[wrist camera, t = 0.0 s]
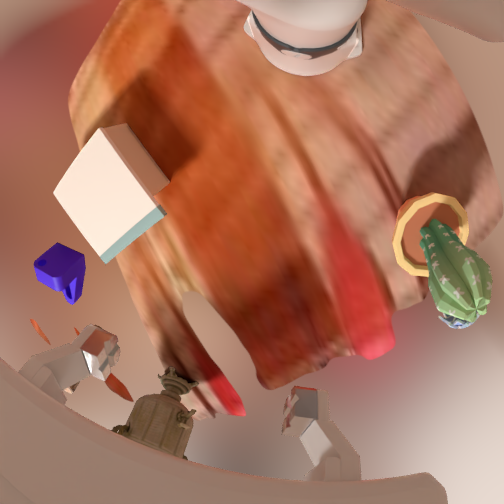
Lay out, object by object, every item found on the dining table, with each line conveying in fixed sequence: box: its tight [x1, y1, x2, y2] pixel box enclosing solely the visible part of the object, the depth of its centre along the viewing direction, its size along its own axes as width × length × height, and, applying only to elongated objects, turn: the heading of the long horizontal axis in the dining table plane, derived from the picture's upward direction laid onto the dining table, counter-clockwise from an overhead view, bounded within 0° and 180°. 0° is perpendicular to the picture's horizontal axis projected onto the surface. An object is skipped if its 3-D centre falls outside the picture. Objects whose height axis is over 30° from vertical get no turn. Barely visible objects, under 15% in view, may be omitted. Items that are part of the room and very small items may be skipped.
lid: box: [53, 127, 167, 264], centre depth 43 cm, size 19×19×1 cm
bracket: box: [34, 242, 86, 305], centre depth 61 cm, size 18×11×12 cm, turn 165°
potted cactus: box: [392, 192, 492, 329], centre depth 33 cm, size 15×15×25 cm
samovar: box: [111, 367, 199, 460], centre depth 66 cm, size 30×26×40 cm
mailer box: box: [104, 123, 170, 196], centre depth 46 cm, size 15×18×8 cm
